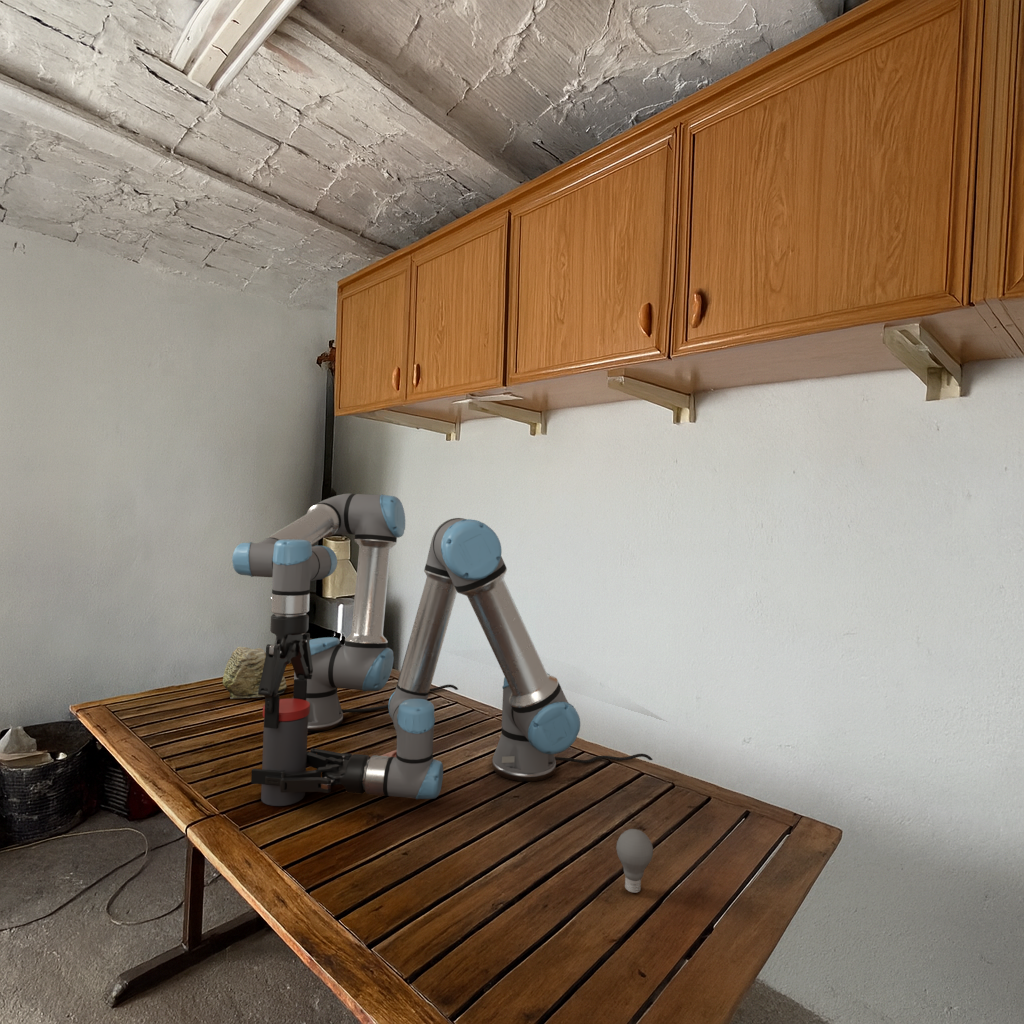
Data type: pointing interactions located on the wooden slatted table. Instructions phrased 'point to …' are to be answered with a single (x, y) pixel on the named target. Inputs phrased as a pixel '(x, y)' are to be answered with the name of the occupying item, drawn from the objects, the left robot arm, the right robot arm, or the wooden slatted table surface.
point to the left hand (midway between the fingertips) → (285, 718)
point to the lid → (292, 709)
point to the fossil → (246, 673)
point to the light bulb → (634, 857)
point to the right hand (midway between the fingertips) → (263, 766)
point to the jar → (284, 758)
